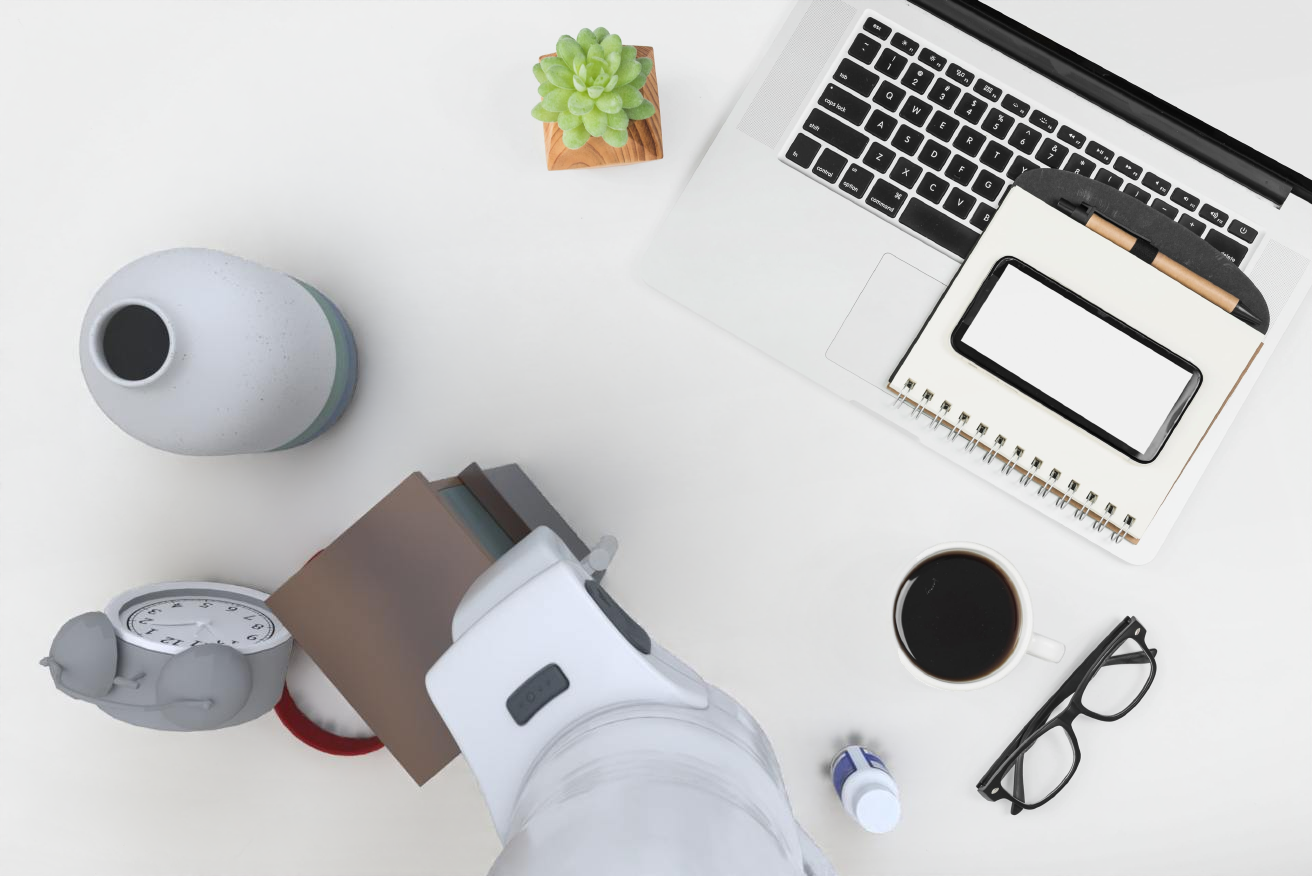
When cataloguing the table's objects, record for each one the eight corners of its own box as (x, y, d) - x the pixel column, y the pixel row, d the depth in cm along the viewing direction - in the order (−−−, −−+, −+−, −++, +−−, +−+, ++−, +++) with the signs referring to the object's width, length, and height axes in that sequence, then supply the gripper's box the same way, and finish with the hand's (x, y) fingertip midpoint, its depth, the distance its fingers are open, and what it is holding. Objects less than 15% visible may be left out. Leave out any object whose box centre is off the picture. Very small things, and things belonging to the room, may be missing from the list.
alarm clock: (337, 606, 83) (213, 671, 61) (317, 689, 83) (186, 784, 61) (181, 565, 83) (2, 615, 61) (161, 647, 84) (-24, 727, 62)
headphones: (301, 534, 82) (285, 719, 86) (264, 555, 75) (248, 755, 79) (446, 558, 82) (425, 743, 85) (422, 581, 75) (400, 781, 78)
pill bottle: (837, 802, 82) (856, 848, 73) (823, 751, 82) (840, 791, 73) (889, 789, 82) (915, 833, 73) (875, 737, 82) (899, 775, 73)
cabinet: (530, 634, 82) (420, 788, 47) (440, 527, 83) (262, 602, 48) (619, 559, 82) (573, 658, 47) (527, 452, 82) (414, 471, 47)
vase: (375, 283, 82) (249, 224, 58) (372, 452, 83) (246, 463, 59) (208, 280, 83) (15, 221, 59) (206, 449, 83) (13, 458, 59)
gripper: (932, 1000, 27) (848, 806, 41) (533, 524, 27) (583, 490, 41) (784, 1118, 27) (750, 886, 41) (389, 645, 28) (487, 571, 41)
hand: (664, 686), depth 41 cm, fingers closed
